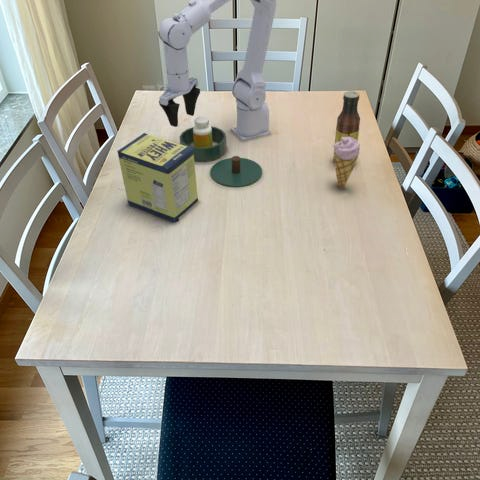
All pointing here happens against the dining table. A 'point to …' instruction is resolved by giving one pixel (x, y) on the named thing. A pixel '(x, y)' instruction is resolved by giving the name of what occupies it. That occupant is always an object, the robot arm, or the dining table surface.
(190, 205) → the protein box
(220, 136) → the pot
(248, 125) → the robot arm
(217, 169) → the lid
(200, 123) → the supplement bottle
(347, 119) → the sauce bottle
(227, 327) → the dining table surface
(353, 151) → the ice cream cone
